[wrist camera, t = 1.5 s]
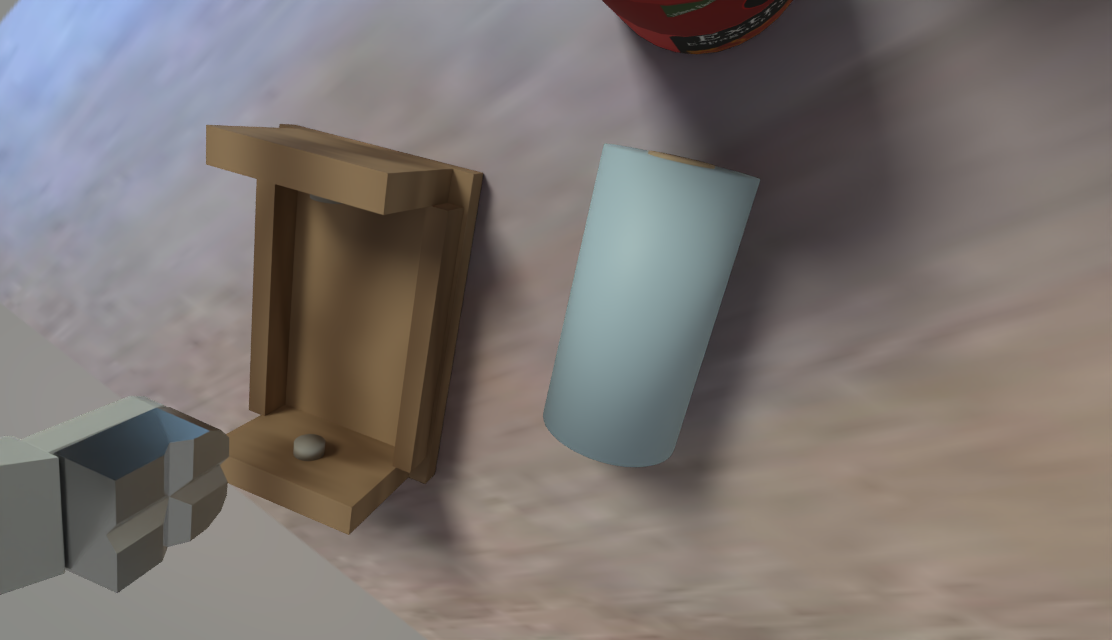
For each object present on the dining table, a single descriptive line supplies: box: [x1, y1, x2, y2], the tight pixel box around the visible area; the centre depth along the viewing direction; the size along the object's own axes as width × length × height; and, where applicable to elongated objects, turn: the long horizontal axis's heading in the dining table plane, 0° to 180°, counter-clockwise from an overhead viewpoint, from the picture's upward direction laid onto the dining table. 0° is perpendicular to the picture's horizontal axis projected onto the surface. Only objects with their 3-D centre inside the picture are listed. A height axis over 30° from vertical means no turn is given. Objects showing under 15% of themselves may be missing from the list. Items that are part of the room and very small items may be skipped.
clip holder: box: [206, 124, 483, 535], centre depth 27 cm, size 10×16×6 cm, turn 168°
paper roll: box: [543, 144, 760, 467], centre depth 23 cm, size 6×11×6 cm, turn 167°
